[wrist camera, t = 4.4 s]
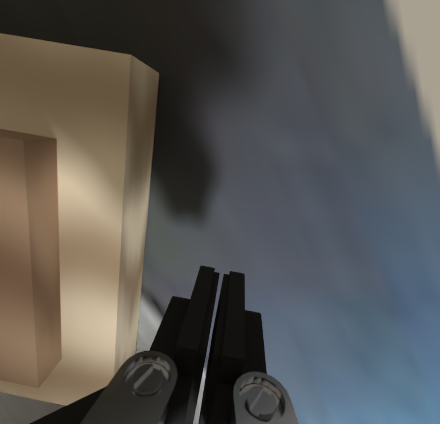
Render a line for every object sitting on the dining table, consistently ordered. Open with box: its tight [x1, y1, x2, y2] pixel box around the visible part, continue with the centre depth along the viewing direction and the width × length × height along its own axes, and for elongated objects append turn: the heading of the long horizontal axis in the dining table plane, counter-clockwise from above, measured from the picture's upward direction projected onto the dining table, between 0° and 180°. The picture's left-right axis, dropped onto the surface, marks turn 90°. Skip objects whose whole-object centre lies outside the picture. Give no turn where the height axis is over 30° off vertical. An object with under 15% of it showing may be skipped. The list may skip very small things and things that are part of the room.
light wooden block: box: [0, 33, 159, 406], centre depth 13 cm, size 16×12×3 cm
